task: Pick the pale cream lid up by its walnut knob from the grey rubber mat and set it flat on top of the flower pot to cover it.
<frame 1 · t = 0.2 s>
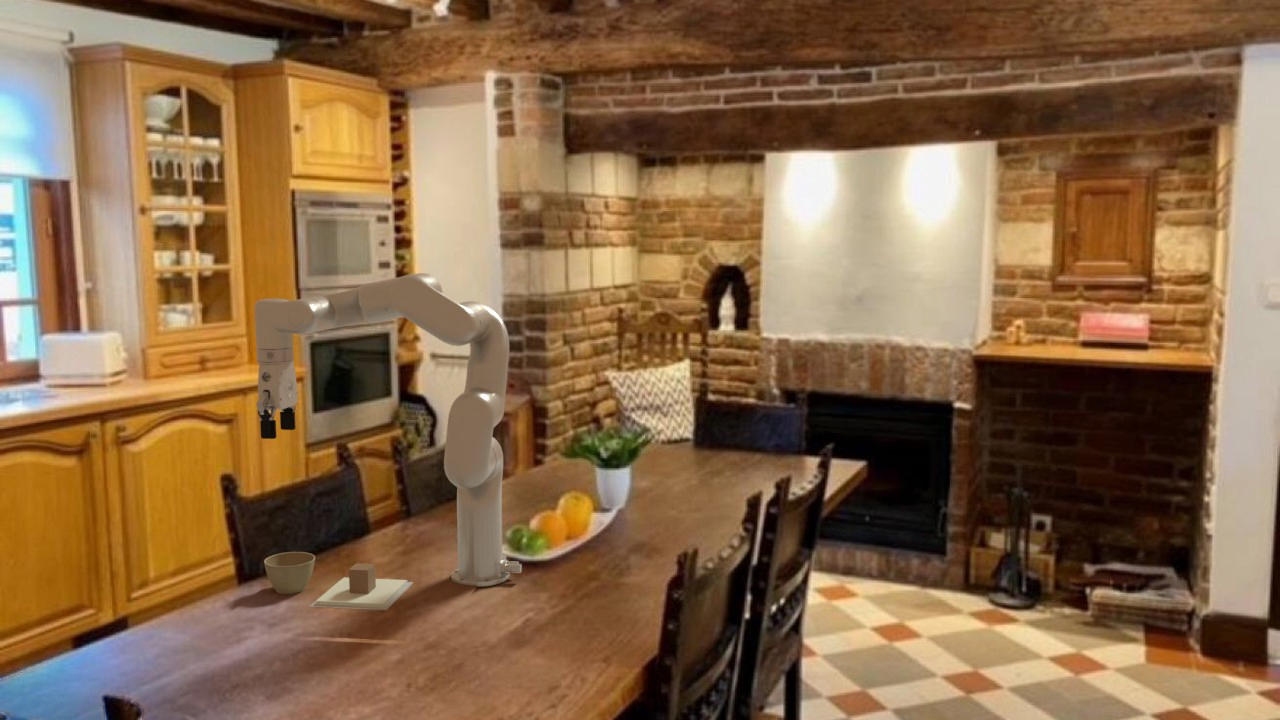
hand: (278, 433, 221), 31 cm above the table, fingers open, 9 cm apart
mat: (363, 596, 209), on the table
flower pot: (291, 592, 211), on the table
lid: (362, 593, 209), point 1 cm above the table, touching mat
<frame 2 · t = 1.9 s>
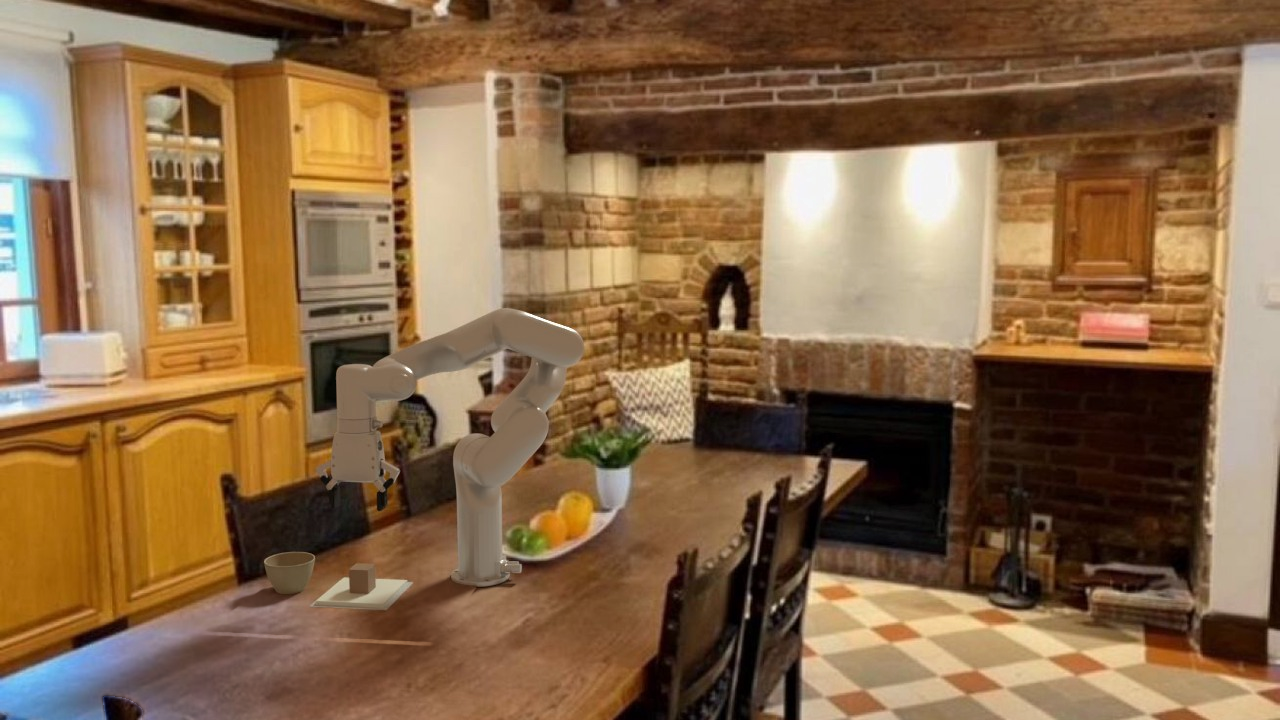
hand: (358, 508, 206), 19 cm above the table, fingers open, 9 cm apart
nothing on the table moved.
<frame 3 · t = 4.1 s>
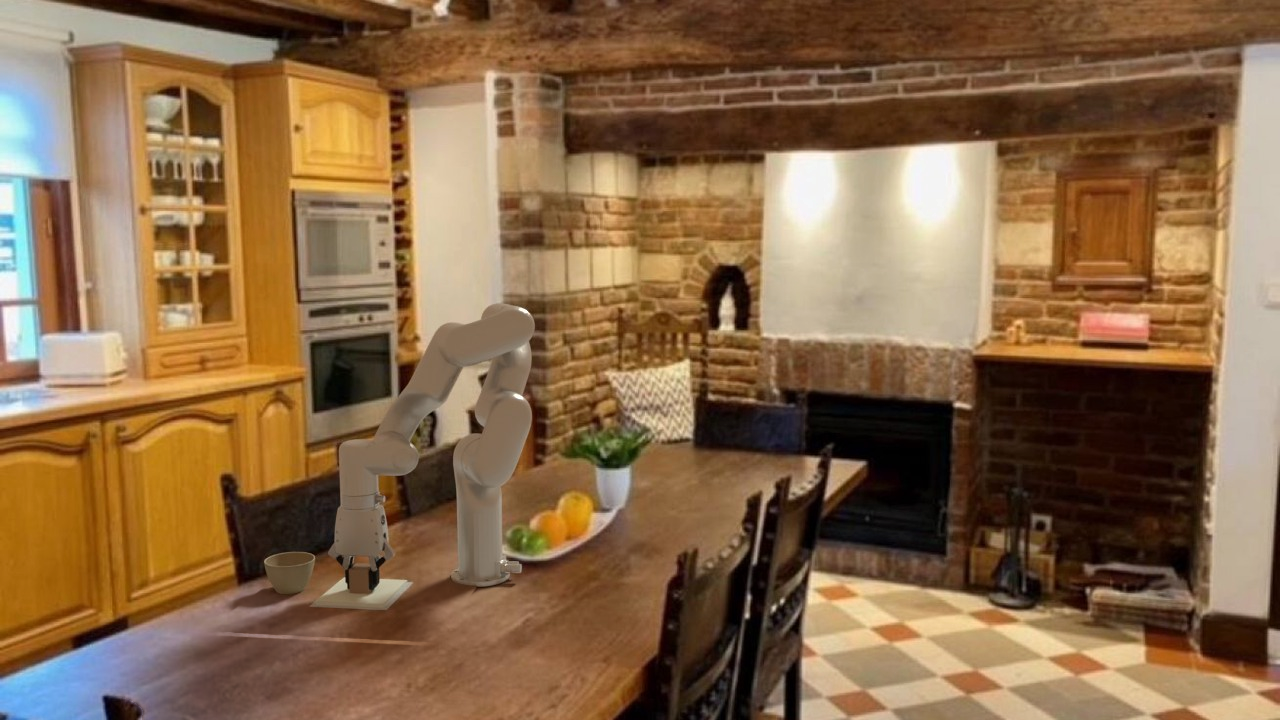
hand: (362, 586, 208), 2 cm above the table, fingers closed on lid, 4 cm apart
lid: (362, 593, 209), point 1 cm above the table, touching gripper, mat
everything else where it was.
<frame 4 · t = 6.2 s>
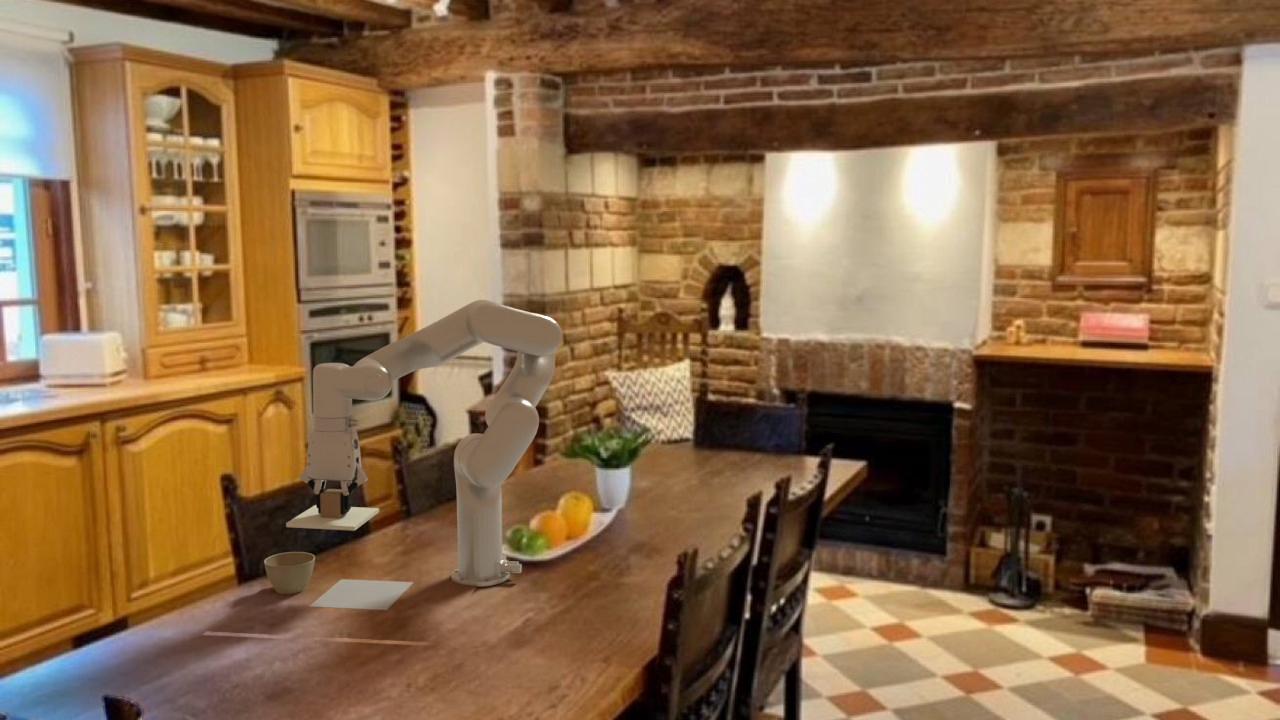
hand: (333, 511, 207), 18 cm above the table, fingers closed on lid, 4 cm apart
lid: (334, 519, 207), point 16 cm above the table, touching gripper
everything else where it was.
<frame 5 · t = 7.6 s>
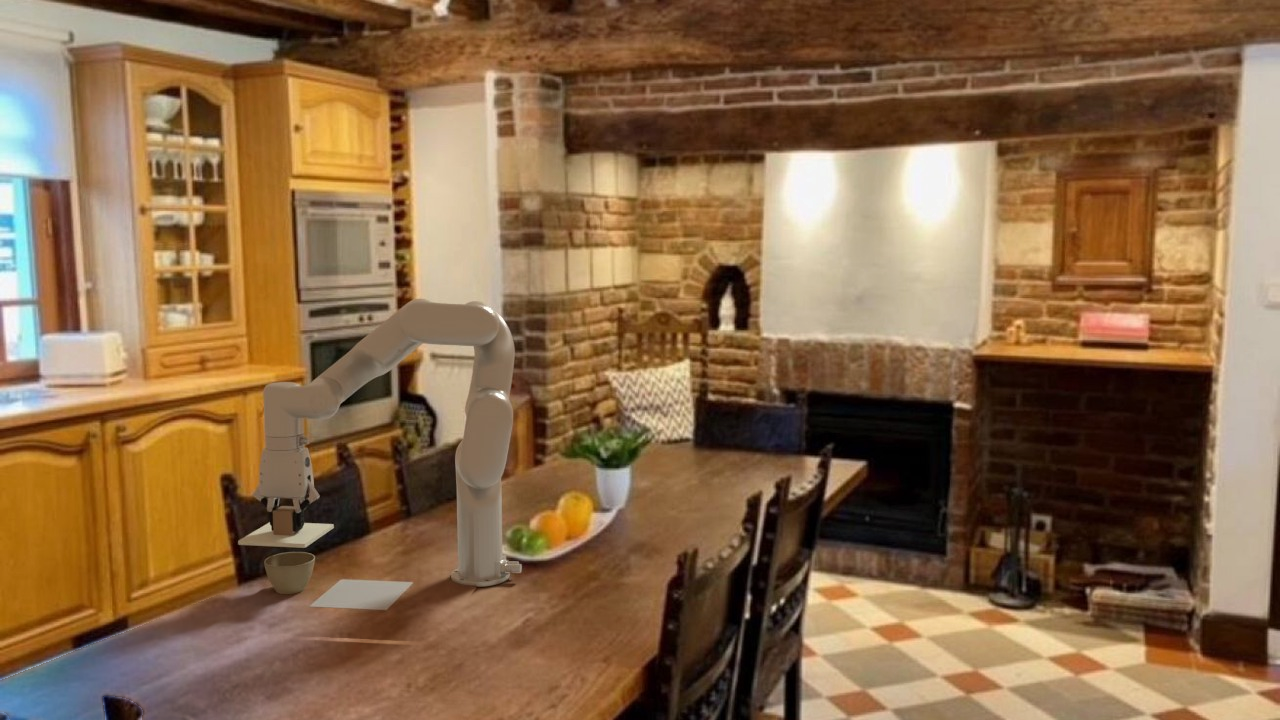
hand: (287, 528, 210), 14 cm above the table, fingers closed on lid, 4 cm apart
lid: (287, 536, 210), point 12 cm above the table, touching gripper
everything else where it was.
when the fingers open (10 cm above the table, at t = 8.5 s): lid drops 1 cm, resting on flower pot.
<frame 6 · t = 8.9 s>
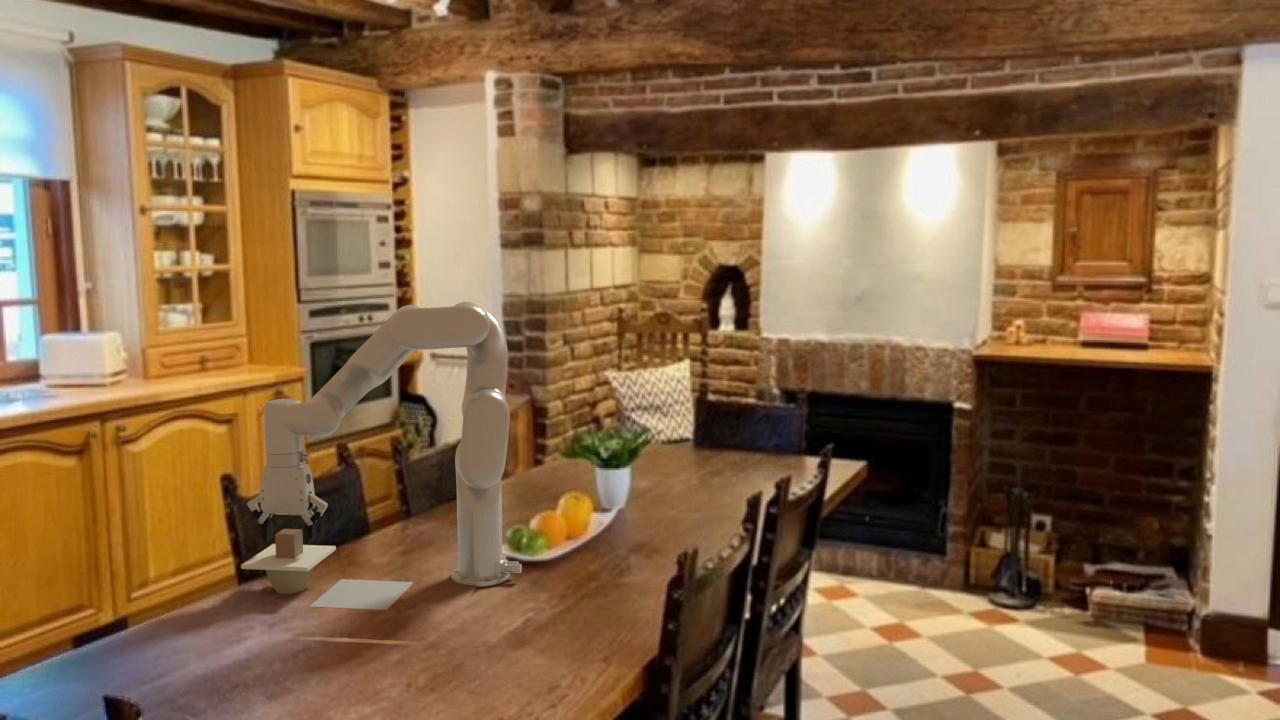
hand: (288, 541, 210), 11 cm above the table, fingers open, 8 cm apart
flower pot: (291, 592, 211), on the table, touching lid
lid: (289, 558, 210), point 7 cm above the table, touching flower pot
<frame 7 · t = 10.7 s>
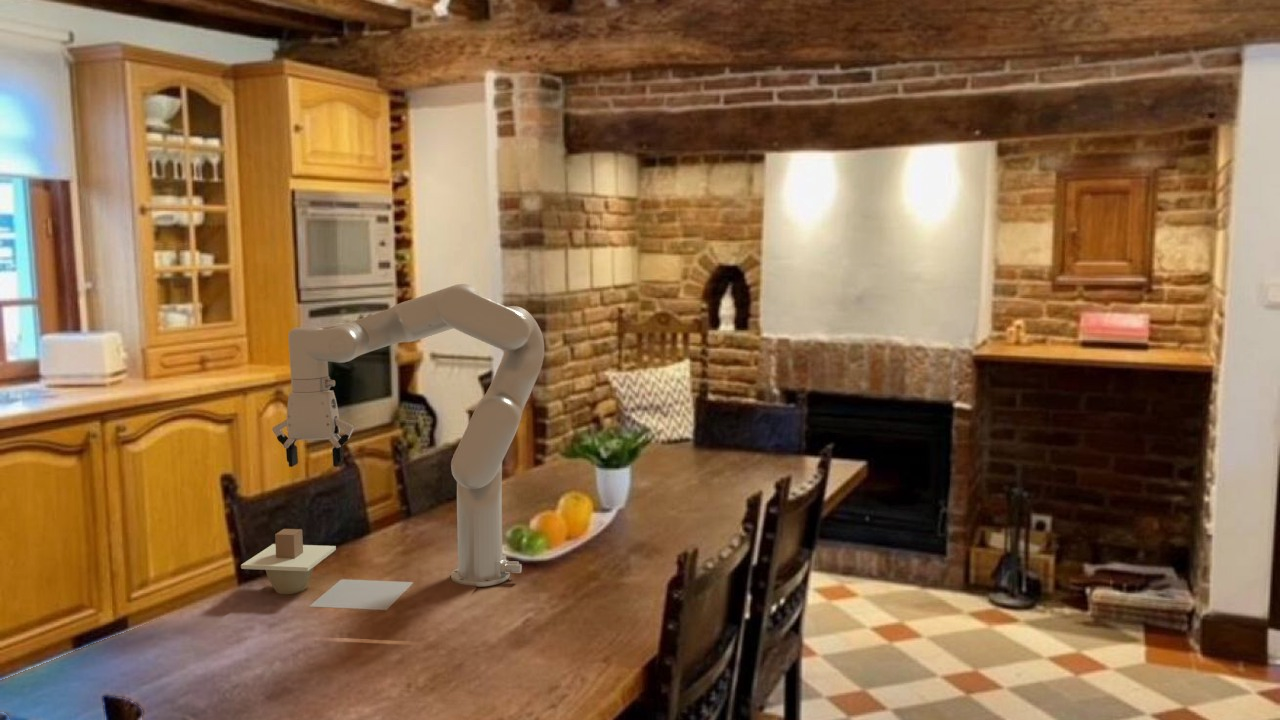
hand: (315, 465, 215), 25 cm above the table, fingers open, 9 cm apart
nothing on the table moved.
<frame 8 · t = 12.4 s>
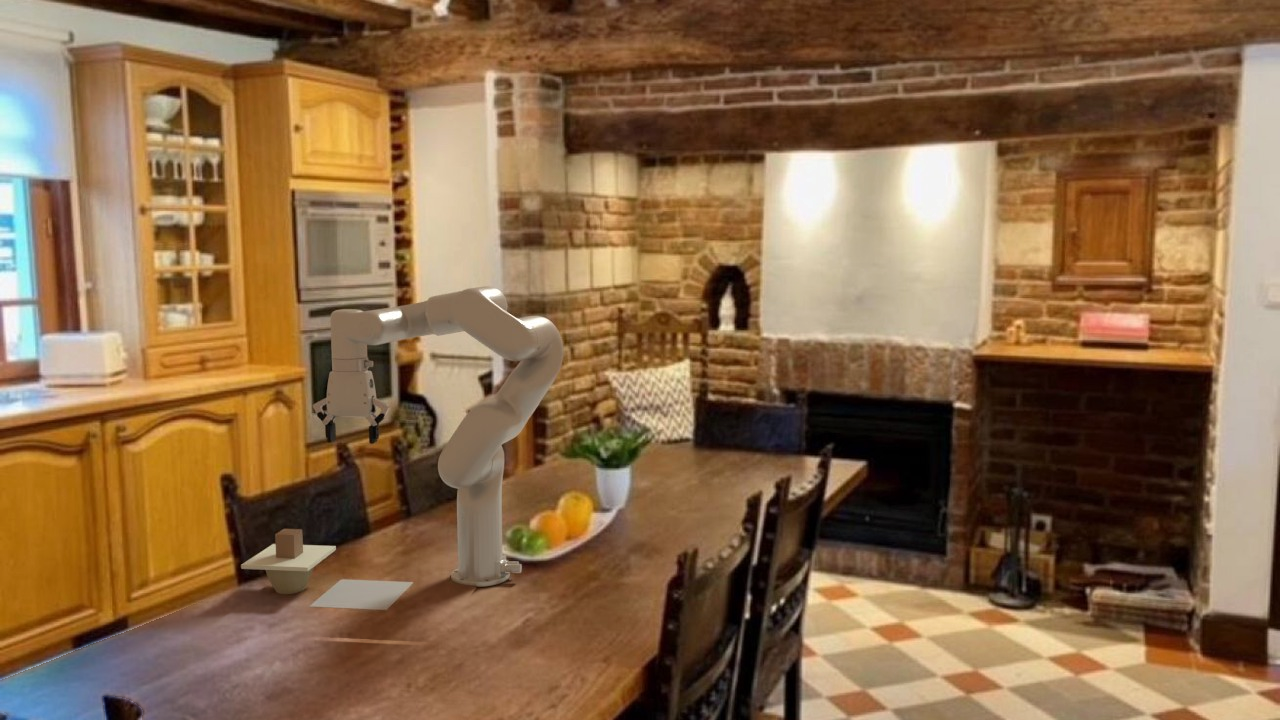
hand: (352, 441, 225), 28 cm above the table, fingers open, 9 cm apart
nothing on the table moved.
at the end: lid 0.1 cm from the flower pot (horizontally); lid point 7.1 cm above the table; lid tilted 0° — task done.
